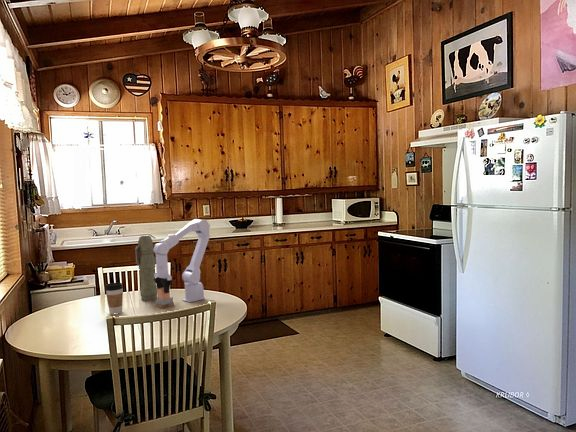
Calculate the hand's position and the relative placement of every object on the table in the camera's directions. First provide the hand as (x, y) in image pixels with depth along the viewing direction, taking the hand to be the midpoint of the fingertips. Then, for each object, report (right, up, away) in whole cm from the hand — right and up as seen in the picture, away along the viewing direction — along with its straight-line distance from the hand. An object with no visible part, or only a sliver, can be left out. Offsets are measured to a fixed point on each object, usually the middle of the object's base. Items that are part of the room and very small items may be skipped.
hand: (163, 292), depth 238 cm
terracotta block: (0, -3, 0) cm, 3 cm away
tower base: (0, -8, +1) cm, 8 cm away
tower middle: (0, -6, 0) cm, 6 cm away
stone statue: (-13, -7, +17) cm, 22 cm away
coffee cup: (-22, -9, -8) cm, 25 cm away
